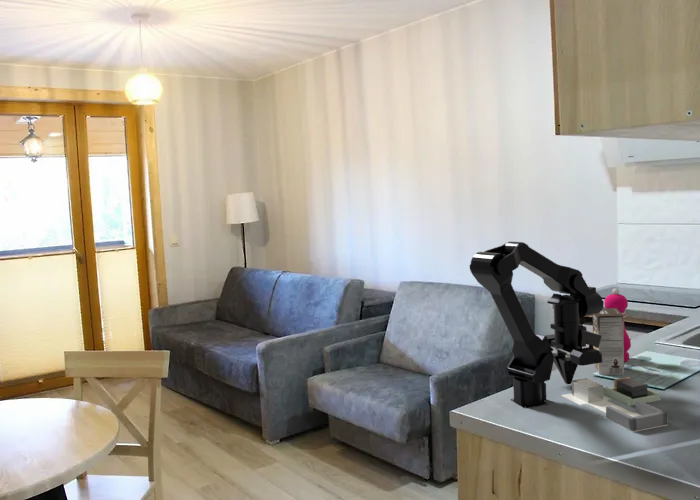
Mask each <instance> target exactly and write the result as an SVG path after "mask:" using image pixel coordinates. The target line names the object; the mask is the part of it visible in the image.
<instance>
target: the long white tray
mask: <svg viewBox="0 0 700 500" xmlns="http://www.w3.org/2000/svg"><path fill="white" fill-rule="evenodd" d="M560 396H561V397H563V398H564V399H567V400H569V401H571V402H573V403H575V404H576V405H579V406H581V407H583V408H584V409H587V410H588V411H591V412H592V413H594V414H596V415H598V416H601V417H603V418H604V419H606V420H608V421H610V422H612V423H614V424H616V425H618V426H619V427H622V428H623V429H626V430H628V431H630V432H632V433H635V432H640V431H645V430H650V429H655V428H660V427H661V428H662V427H666V426H668V412H667V411H664V410H662V409H659V408H657V407H656V406H653V405H651V404H648V403H644V402H642V401H636V405H635V407H632V406H628V405H626V404H624V403H621V402H619V401H617V400H615V399H611V398H609V397H607V396H605V395H603V401H597V402H592V403H587V402H585V401H583V400H581V399H579V398H577V397H575V396H573V395H572V392H571V393H567V394H566V393H565V394H561V395H560Z"/></svg>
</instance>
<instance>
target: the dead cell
mask: <svg viewBox="0 0 700 500" xmlns="http://www.w3.org/2000/svg"><path fill="white" fill-rule="evenodd" d="M603 387H604V385H603V384H600V383H598V382H595V381H594V380H591V379H589V378H587V377H585V378H579V379H574V380H573V379H572V382H571V393H572V395H573V396H575V397H577V398H579V399H581V400H583V401H585V402H587V403H592V402H597V401H603Z"/></svg>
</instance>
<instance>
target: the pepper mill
mask: <svg viewBox="0 0 700 500" xmlns="http://www.w3.org/2000/svg"><path fill="white" fill-rule="evenodd" d="M611 292H612V293H611V294H608V295H607V296H606V297H605V298H604V300H603V302H604V305H603V306H604V308H617V309H618V310H619V311H620V312H621V314H622V315H623V316H624V318H627V314H626V313H627V311H625V310H626V309H627V308H628V303H629V302H628V299H627V298H626V297H625V296H624V295H623V294H620V290H619V288H613V289H612V291H611ZM631 343H632V342H631V338H630V336H629V334H628V332H627V329H626V327H625V326H624V363H625V362H628V361H629V360H630V353H629V352H628V351H629V350H630V348H631V347H632V344H631Z"/></svg>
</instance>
